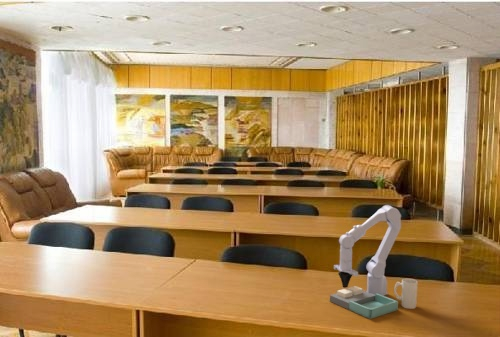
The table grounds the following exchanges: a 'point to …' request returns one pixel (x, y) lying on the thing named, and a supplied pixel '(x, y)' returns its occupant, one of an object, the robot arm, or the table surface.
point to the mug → (407, 292)
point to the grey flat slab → (352, 299)
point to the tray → (374, 307)
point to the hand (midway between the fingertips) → (345, 287)
